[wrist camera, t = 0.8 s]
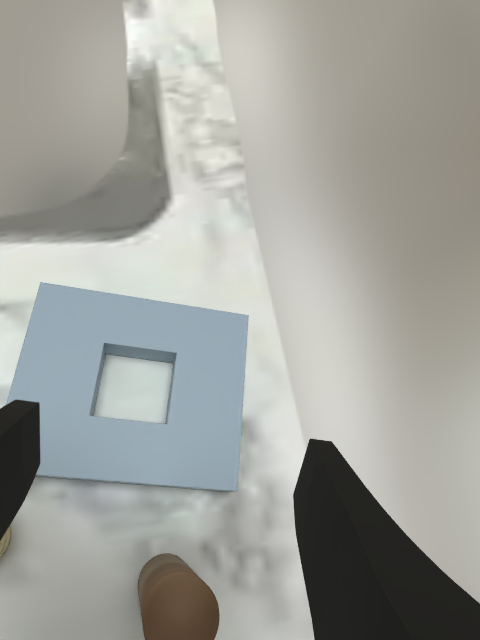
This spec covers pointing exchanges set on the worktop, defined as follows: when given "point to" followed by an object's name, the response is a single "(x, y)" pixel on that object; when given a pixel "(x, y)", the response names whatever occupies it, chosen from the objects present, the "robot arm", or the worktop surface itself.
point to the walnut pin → (176, 601)
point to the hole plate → (145, 343)
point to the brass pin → (5, 541)
